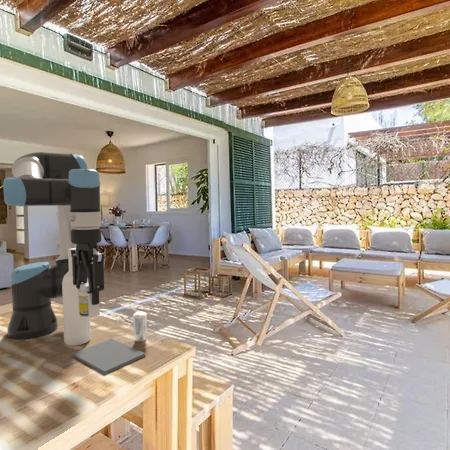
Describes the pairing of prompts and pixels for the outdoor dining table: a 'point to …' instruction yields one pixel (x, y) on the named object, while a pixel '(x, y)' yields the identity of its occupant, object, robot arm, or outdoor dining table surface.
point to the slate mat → (108, 355)
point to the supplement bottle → (83, 300)
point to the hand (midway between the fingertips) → (89, 313)
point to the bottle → (73, 311)
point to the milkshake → (140, 325)
